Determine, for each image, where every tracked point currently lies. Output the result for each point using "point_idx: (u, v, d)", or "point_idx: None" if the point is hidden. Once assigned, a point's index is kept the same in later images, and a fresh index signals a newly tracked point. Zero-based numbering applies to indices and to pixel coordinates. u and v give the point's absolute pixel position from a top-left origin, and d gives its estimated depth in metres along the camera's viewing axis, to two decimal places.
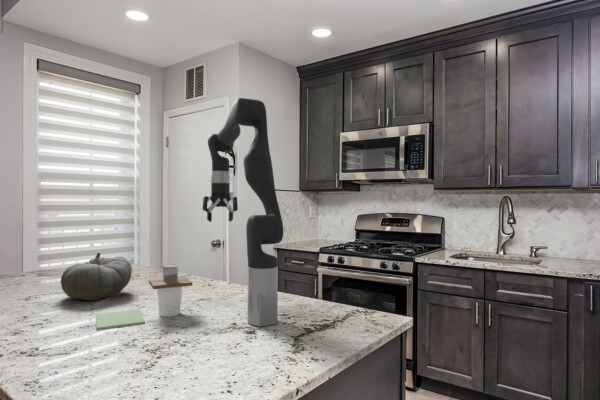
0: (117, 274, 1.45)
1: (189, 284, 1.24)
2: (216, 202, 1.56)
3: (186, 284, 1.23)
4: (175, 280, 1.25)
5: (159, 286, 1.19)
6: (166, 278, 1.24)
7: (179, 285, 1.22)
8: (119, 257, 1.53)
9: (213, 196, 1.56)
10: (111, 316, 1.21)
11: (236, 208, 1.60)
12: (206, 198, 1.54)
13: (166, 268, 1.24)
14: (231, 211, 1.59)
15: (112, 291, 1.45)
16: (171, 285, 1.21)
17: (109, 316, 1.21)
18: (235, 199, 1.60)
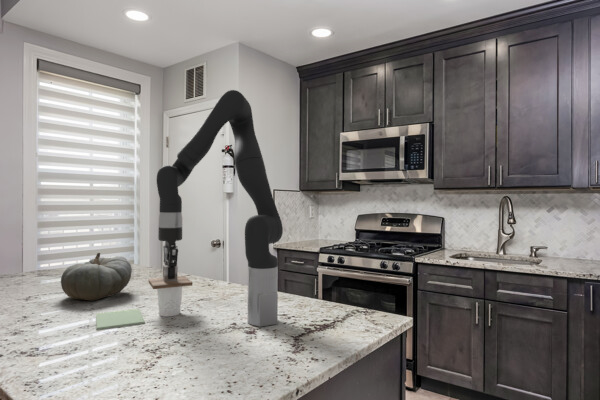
0: (117, 274, 1.45)
1: (189, 284, 1.24)
2: None
3: (186, 284, 1.23)
4: (175, 280, 1.25)
5: (159, 286, 1.19)
6: (166, 278, 1.24)
7: (179, 285, 1.22)
8: (119, 257, 1.53)
9: (175, 245, 1.24)
10: (111, 316, 1.21)
11: None
12: None
13: (166, 268, 1.24)
14: None
15: (112, 291, 1.45)
16: (171, 285, 1.21)
17: (109, 316, 1.21)
18: None
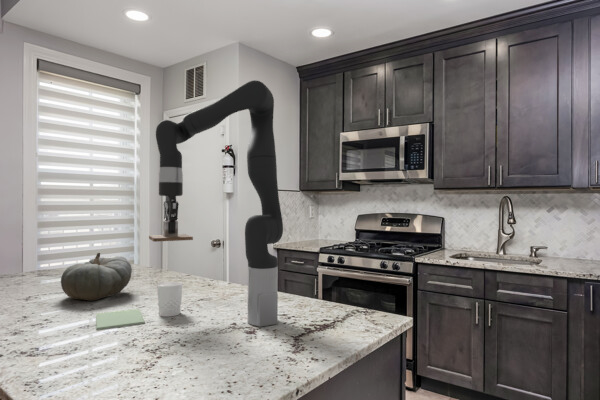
0: (117, 274, 1.45)
1: (189, 238, 1.24)
2: None
3: (186, 238, 1.23)
4: (175, 235, 1.25)
5: (159, 239, 1.19)
6: (166, 232, 1.24)
7: (179, 239, 1.22)
8: (119, 257, 1.53)
9: None
10: (111, 316, 1.21)
11: None
12: None
13: (166, 222, 1.24)
14: None
15: (112, 291, 1.45)
16: (171, 238, 1.21)
17: (109, 316, 1.21)
18: None
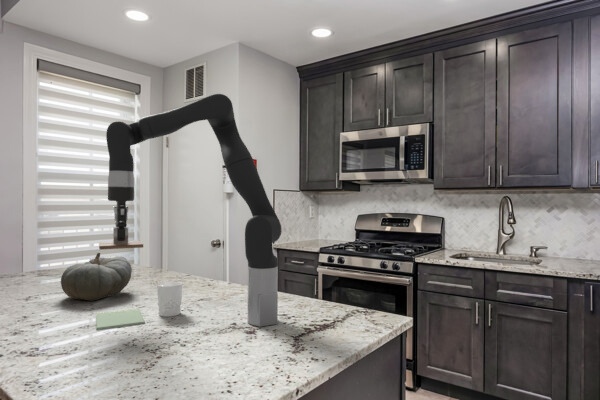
0: (117, 274, 1.45)
1: (140, 246, 1.17)
2: None
3: (136, 246, 1.17)
4: (125, 242, 1.19)
5: (106, 246, 1.13)
6: (115, 240, 1.18)
7: (128, 246, 1.16)
8: (119, 257, 1.53)
9: (125, 205, 1.18)
10: (111, 316, 1.21)
11: None
12: (126, 211, 1.16)
13: (115, 229, 1.18)
14: None
15: (112, 291, 1.45)
16: (119, 246, 1.15)
17: (109, 316, 1.21)
18: None
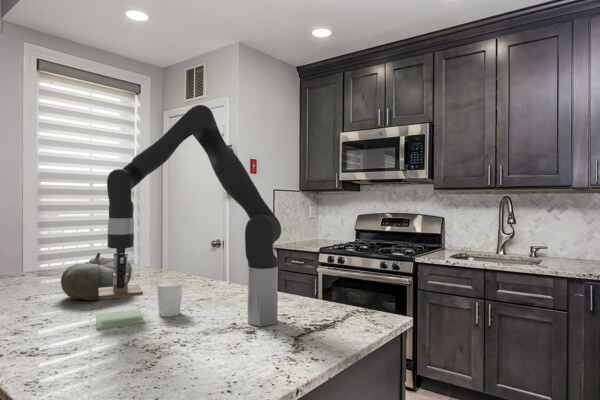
0: None
1: (139, 293, 1.17)
2: (126, 259, 1.20)
3: (136, 293, 1.17)
4: (125, 289, 1.19)
5: (105, 296, 1.13)
6: (115, 287, 1.18)
7: (128, 295, 1.16)
8: None
9: None
10: (111, 316, 1.21)
11: None
12: (126, 259, 1.16)
13: (115, 277, 1.18)
14: None
15: None
16: (119, 295, 1.15)
17: (109, 316, 1.21)
18: None
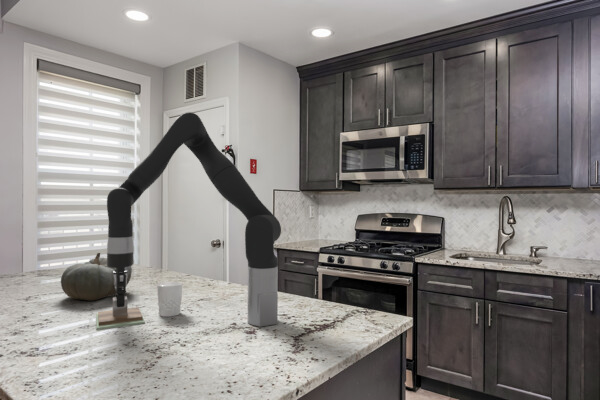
0: None
1: (139, 318, 1.17)
2: (126, 278, 1.19)
3: (136, 318, 1.17)
4: (125, 314, 1.19)
5: (105, 322, 1.13)
6: (115, 312, 1.18)
7: (128, 320, 1.16)
8: None
9: (124, 271, 1.18)
10: None
11: None
12: (125, 277, 1.15)
13: (115, 301, 1.18)
14: (123, 288, 1.24)
15: (112, 291, 1.45)
16: (119, 320, 1.15)
17: None
18: None
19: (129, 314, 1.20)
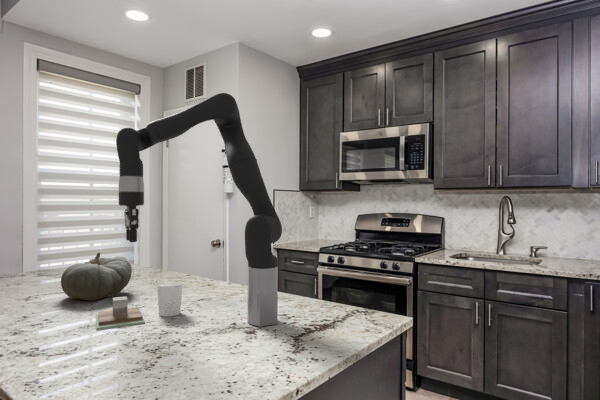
0: (117, 274, 1.45)
1: (139, 318, 1.17)
2: None
3: (136, 318, 1.17)
4: (125, 314, 1.19)
5: (105, 322, 1.13)
6: (115, 312, 1.18)
7: (128, 320, 1.16)
8: (119, 257, 1.53)
9: (136, 209, 1.21)
10: None
11: None
12: (138, 211, 1.18)
13: (115, 301, 1.18)
14: None
15: (112, 291, 1.45)
16: (119, 320, 1.15)
17: None
18: None
19: (129, 314, 1.20)
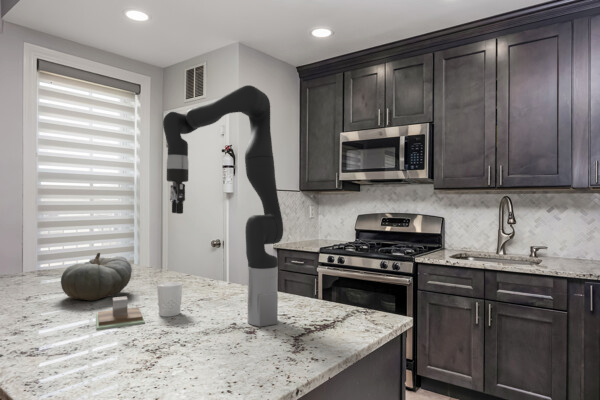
0: (117, 274, 1.45)
1: (139, 318, 1.17)
2: None
3: (136, 318, 1.17)
4: (125, 314, 1.19)
5: (105, 322, 1.13)
6: (115, 312, 1.18)
7: (128, 320, 1.16)
8: (119, 257, 1.53)
9: (182, 184, 1.35)
10: None
11: None
12: None
13: (115, 301, 1.18)
14: None
15: (112, 291, 1.45)
16: (119, 320, 1.15)
17: None
18: None
19: (129, 314, 1.20)
